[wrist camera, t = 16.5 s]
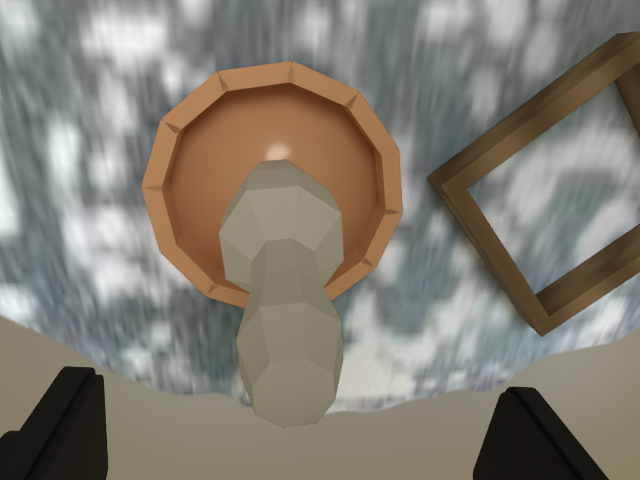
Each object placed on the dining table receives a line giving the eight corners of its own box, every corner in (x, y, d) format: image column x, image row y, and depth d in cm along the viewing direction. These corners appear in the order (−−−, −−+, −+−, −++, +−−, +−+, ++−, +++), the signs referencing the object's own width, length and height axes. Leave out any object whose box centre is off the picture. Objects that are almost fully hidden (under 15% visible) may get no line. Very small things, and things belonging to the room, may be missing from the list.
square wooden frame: (616, 34, 32) (650, 30, 29) (689, 206, 38) (722, 216, 35) (426, 176, 34) (440, 185, 31) (522, 318, 40) (541, 337, 37)
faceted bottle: (226, 220, 33) (155, 468, 12) (244, 136, 31) (195, 265, 10) (309, 238, 34) (368, 491, 14) (331, 158, 32) (442, 314, 11)
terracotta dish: (295, 9, 29) (298, 1, 26) (429, 203, 35) (446, 217, 32) (106, 170, 31) (88, 181, 28) (262, 327, 37) (262, 351, 34)
